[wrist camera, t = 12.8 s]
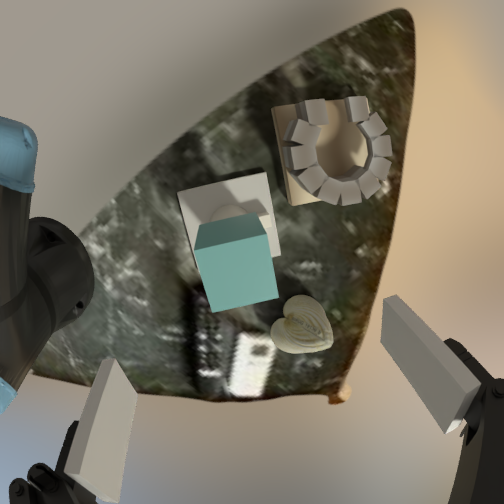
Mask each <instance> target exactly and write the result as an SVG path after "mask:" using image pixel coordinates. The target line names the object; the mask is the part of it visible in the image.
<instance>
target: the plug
mask: <svg viewBox="0 0 504 504" xmlns="http://www.w3.org/2000/svg"><path fill="white" fill-rule="evenodd" d="M268 227H272V223H271V218H270V214H269V213H268V212H263V213H258V214H256V212H253V213H247V211H246V210H245V209H243V208H242V207H240V206H237V205H225V206H222V207H220V208H218V209H217V210H216V211H215V212H214V213H213V215H212V216H211V219H210V222H209V223H205V224H201V225H199V228H198V232H197V237H196V241H195V246H194V254H195V257H196V261H197V264H198V268H199V271H200V274H201V278H202V281H203V284H204V287H205V291H206V294H207V297H208V300H209V303H210V307H211V310H212V313H213V312H217V311H222V310H227V309H231V308H236V307H240V306H245V305H249V304H254V303H258V302H262V301H267V300H271V299H275V298H279V295H278V290H277V284H276V279H275V273H274V268H273V263H272V257H271V252H270V247H269V242H268V236H267V233H266V231H265V229H264V228H268Z"/></svg>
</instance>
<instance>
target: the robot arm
mask: <svg viewBox="0 0 504 504" xmlns="http://www.w3.org/2000/svg"><path fill="white" fill-rule="evenodd" d="M37 150H38V141H37V137H36V135H35V133H34V131H33V130H32V129H31V128H30V127H29V126H27V125H25V124H23V123H21V122H18V121H15V120H11V119H8V118H5V117H1V116H0V414H2V413H3V412H4V411H5V410H6V408H7V407H8V406H9V404H10V403H11V402H12V400H13V399H14V398H15V397H16V396H17V391H18V389H19V387H20V385H21V384H22V382H23V380H24V378H25V377H26V375H27V373H28V372H29V370H30V368H31V367H32V365H33V363H34V362H35V360H36V358H37V357H38V355H39V354H40V352H41V350H42V349H43V347H44V346H45V344H46V343H47V341H48V339H49V338H50V336H51V335H52V334H53V333H54V332H56V331H57V330H59V329H61V328H63V327H65V326H66V325H68V324H70V323H72V322H73V321H75V320H76V319H77V318H79V317H80V316H81V315H82V313H83V312H84V310H85V309H86V307H87V306H88V304H89V303H90V301H91V298H92V295H93V291H94V272H93V268H92V264H91V261H90V258H89V256H88V253H87V251H86V250H85V248H84V246H83V244H82V243H81V242H80V240H79V239H78V238H77V236H76V235H75V234H74V233H73V232H72V231H71V230H69V228H67V227H66V226H65V225H63V224H62V223H60V222H58V221H56V220H54V219H51V218H47V217H34V218H31V219H29V213H30V203H31V196H32V193H33V192H34V188H35V184H34V182H33V180H34V171H35V164H36V156H37ZM381 343H382V345H383V346H384V347H385V349H386V350H387V351H388V353H389V354H390V355H391V357H392V358H393V360H394V361H395V363H396V364H397V365H398V367H399V368H400V370H401V371H402V372H403V374H404V375H405V377H406V378H407V379H408V381H409V382H410V384H411V385H412V386H413V388H414V389H415V391H416V392H417V394H418V395H419V397H420V398H421V400H422V401H423V402H424V404H425V405H426V407H427V408H428V410H429V411H430V413H431V414H432V416H433V417H434V419H435V420H436V422H437V423H438V425H439V426H440V428H441V429H442V431H443V432H444V434H447V433H449V432H450V431H452V430H454V429H455V428H457V427H458V426H459V425H460V424H461V422H462V420H463V418H464V419H465V420H466V422H467V424H466V426H465V427H464V429H463V430H462V432H461V434H460V437H462V436H463V434H464V439H463V445H462V450H461V455H460V460H459V465H458V469H457V473H456V477H455V481H454V485H453V488H452V492H451V495H450V499H449V502H448V504H504V379H501V378H498V379H494V378H493V377H492V376H491V375H490V374H489V373H488V372H487V371H486V369H485V368H484V367H483V366H482V365H481V364H480V363H479V362H478V361H477V360H476V359H475V358H474V357H472V355H471V354H470V353H469V352H467V349H466V348H464V346H463V345H462V344H461V343H459V342H457V341H455V340H453V339H451V338H449V339H447V340H445V341H442V340H441V339H440V338H439V337H438V336H437V335H436V334H435V333H434V332H433V331H432V330H431V328H429V327H428V326H427V324H426V323H425V322H424V321H423V320H422V319H421V318H420V317H419V316H417V314H416V313H415V312H414V311H412V309H411V308H410V307H409V306H408V305H407V304H405V302H404V301H403V300H402V299H400V298H399V297H398V296H397V295H394V296H391V297H388V298H385V299H383V315H382V330H381ZM137 398H138V394H137V393H136V391H135V390H134V388H133V387H132V385H131V384H130V382H129V380H128V379H127V377H126V376H125V374H124V372H123V371H122V369H121V367H120V366H119V364H118V362H117V361H116V359H115V358H114V359H106V360H102V363H101V365H100V367H99V370H98V372H97V375H96V377H95V380H94V383H93V385H92V388H91V391H90V393H89V396H88V398H87V401H86V404H85V407H84V409H83V413H82V415H81V418H80V421H74V422H73V423H72V425H71V426H70V427H69V428H68V431H67V434H66V437H65V440H64V443H63V447H62V449H61V452H60V455H59V458H58V461H57V465H56V468H55V471H53V470H52V469H51V468H50V467H48V466H47V465H46V464H44V463H37V464H34V465H33V466H32V467H31V468H30V469H29V471H28V475H27V479H28V482H29V483H30V484H29V483H28V482H27V481H25V480H24V479H22V478H16V479H14V480H13V481H12V482H11V484H10V486H9V499H10V504H97V502H96V501H95V500H96V496H97V497H98V498H100V499H101V500H103V501H105V502H112V503H119V499H120V492H121V484H122V478H123V471H124V465H125V460H126V454H127V447H128V442H129V437H130V432H131V427H132V422H133V417H134V412H135V407H136V403H137Z"/></svg>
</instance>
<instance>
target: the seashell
mask: <svg viewBox="0 0 504 504" xmlns="http://www.w3.org/2000/svg"><path fill="white" fill-rule="evenodd" d="M283 314H284V316H285V318H280V319H278V320H276V321H275V322H274V324H273V325H272V327H271V338H272V341H273V342H274V344H275V345H276V346H277V347H278V348H279V349H281V350H283V351H285V352H288V353H306V352H307V353H308V352H316V351H319V350H320V351H322V350H323V349H324V350H325V349H326V348H329V347H330V346H331V345H332V343H333V335H332V333H333V331H332V330H331V329H332V328H331V327H330V326H331V325H330V324H329V320H327V317H326V314H325V311H324V310H323V308H322V306H321V305H320V304H319V303H318V302H317V301H316V300H315V299H313V298H312V297H310V296H306V295H297V296H293V297H292V298H290V299H289V300H287V302H286V303H285V305H284V307H283Z"/></svg>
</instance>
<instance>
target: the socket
mask: <svg viewBox="0 0 504 504" xmlns="http://www.w3.org/2000/svg"><path fill="white" fill-rule="evenodd" d="M271 112H272V117H273V122H274V127H275V132H276V137H277V142H278V147H279V153H280V158H281V163H282V169H283V175H284V180H285V186H286V192H287V198H288V203H290V204H291V205H292V206H295V205H300V204H305V203H310V202H315V201H320V200H324V201H326V202H329V203H332V204H334V205H336V204H337V203H338V204H340V205H342V206H344V205H349V204H354V203H359V202H361V197H363V198H365V199H368V198H369V197H370V196H371V195H372V194H373V193H375V192H376V191H377V190H379V188H380V187H381V185H380V183H379V181H378V179H380V180H383V181H385V179H386V177H387V174H388V171H389V168H390V165H391V163H392V162H390V161H388V160H386V159H385V158H383V157H385V156H392V149H391V140H390V135H381V134H382V133H383V132H385V131H386V130H387V127H386V126H385V124H384V123H383V121H382V120H381V118H380V117H379V115H378V114H377V112H369V107H368V101H367V98H366V96H356V97H346V98H344V99H342V100H329V101H325V99H314V100H305V101H302V102H300V103H298V104H290V105H283V106H276V107H273V108H271Z"/></svg>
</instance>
